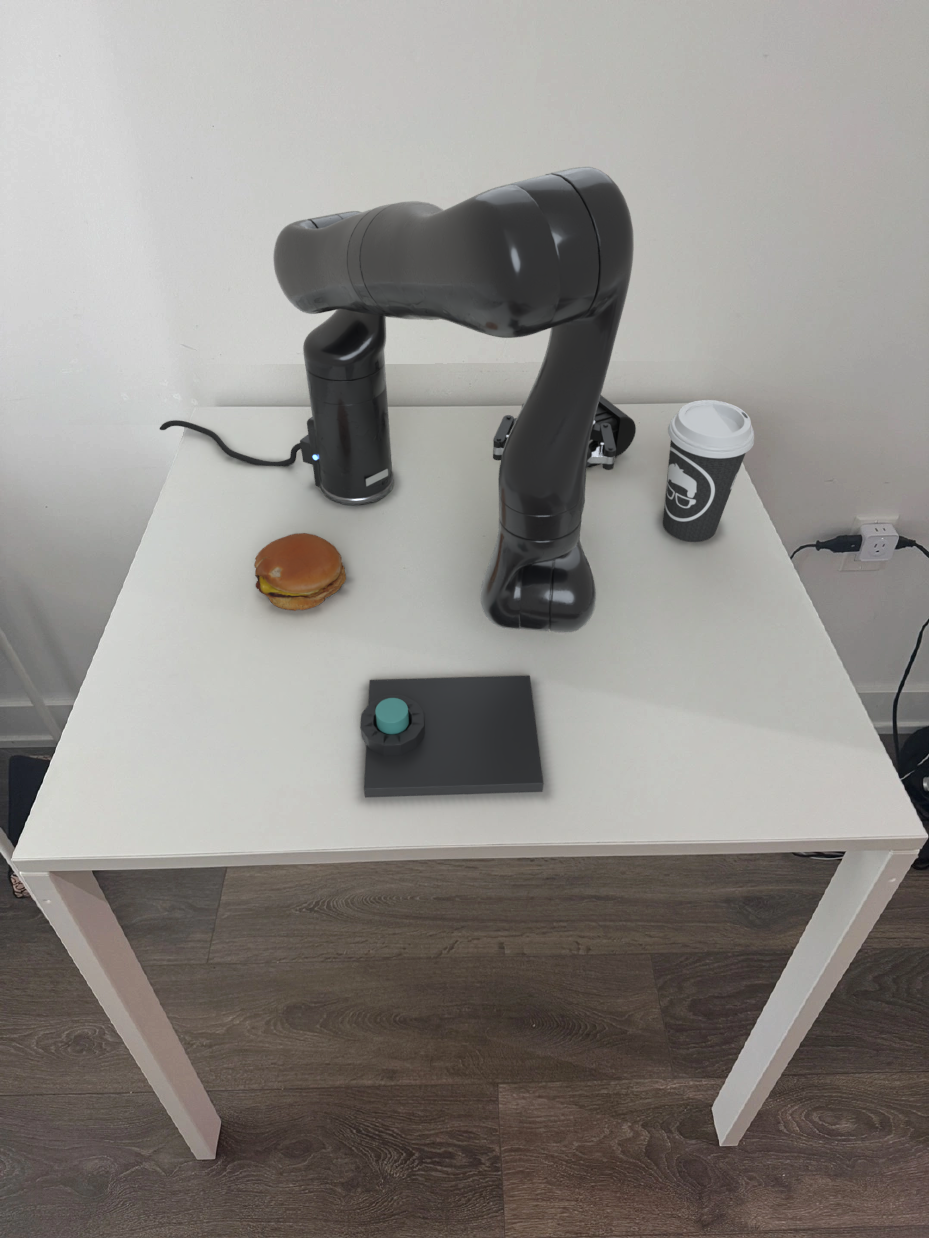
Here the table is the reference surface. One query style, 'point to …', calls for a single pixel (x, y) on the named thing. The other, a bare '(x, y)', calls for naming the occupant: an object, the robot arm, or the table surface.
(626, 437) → the end cap
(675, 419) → the coffee cup
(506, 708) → the scale
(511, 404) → the table surface
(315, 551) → the burger
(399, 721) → the tare button
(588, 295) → the robot arm
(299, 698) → the table surface
